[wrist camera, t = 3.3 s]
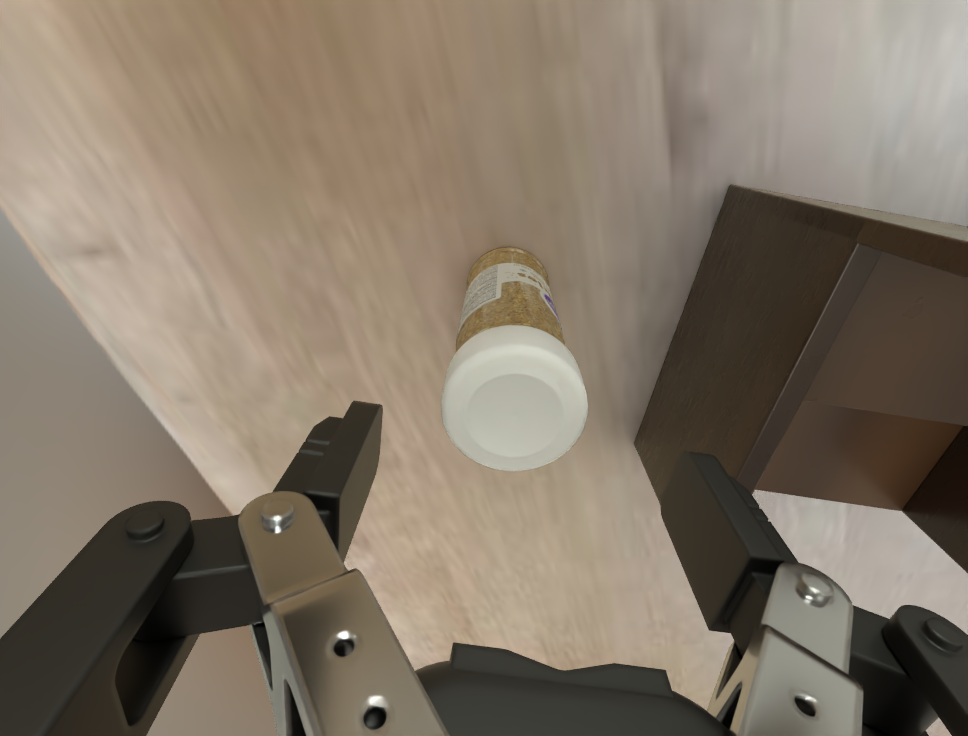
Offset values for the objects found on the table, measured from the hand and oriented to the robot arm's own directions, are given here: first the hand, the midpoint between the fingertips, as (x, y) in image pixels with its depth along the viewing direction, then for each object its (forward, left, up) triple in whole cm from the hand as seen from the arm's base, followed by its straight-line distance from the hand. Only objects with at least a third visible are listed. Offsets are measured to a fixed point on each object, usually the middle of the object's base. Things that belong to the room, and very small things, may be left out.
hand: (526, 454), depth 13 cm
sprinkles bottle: (0, 0, -16) cm, 16 cm away
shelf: (+18, -1, -15) cm, 24 cm away
